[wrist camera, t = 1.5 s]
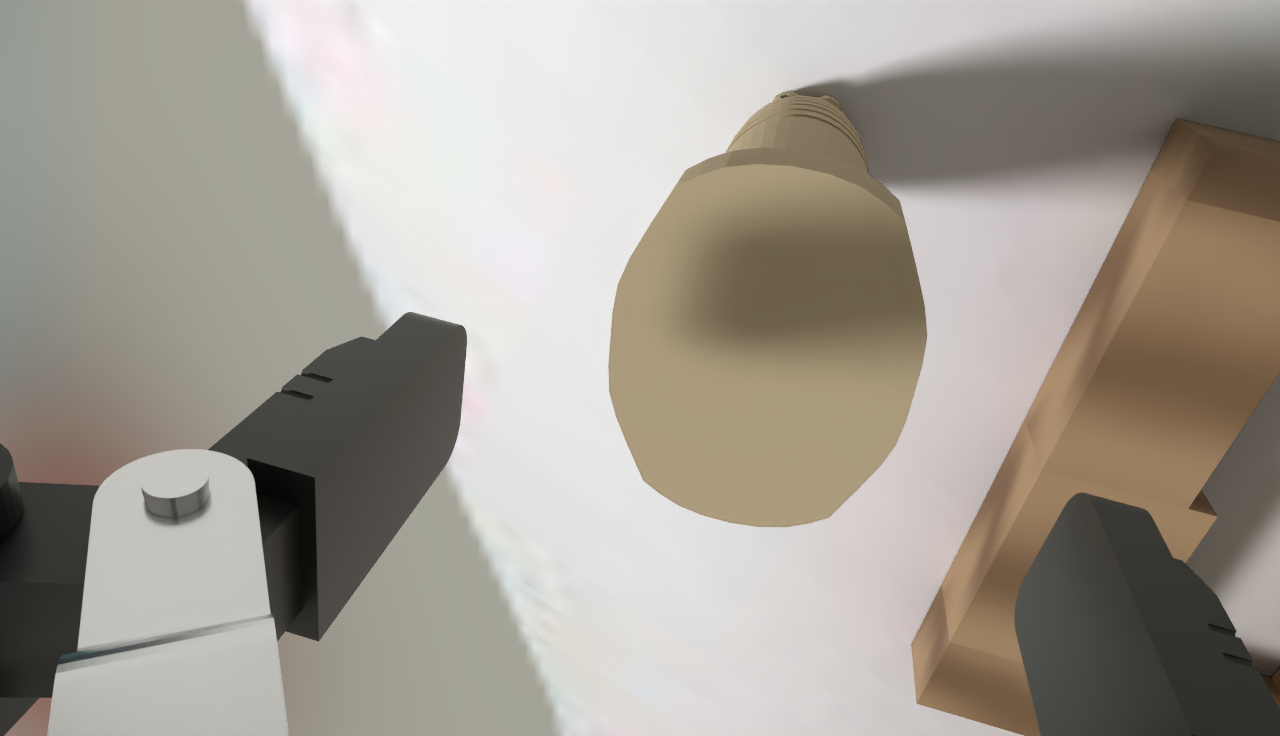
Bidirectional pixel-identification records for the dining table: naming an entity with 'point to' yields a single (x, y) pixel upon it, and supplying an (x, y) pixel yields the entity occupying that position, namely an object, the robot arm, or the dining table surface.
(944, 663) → the square wooden frame
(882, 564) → the dining table surface
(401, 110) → the dining table surface
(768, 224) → the handle
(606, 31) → the dining table surface
